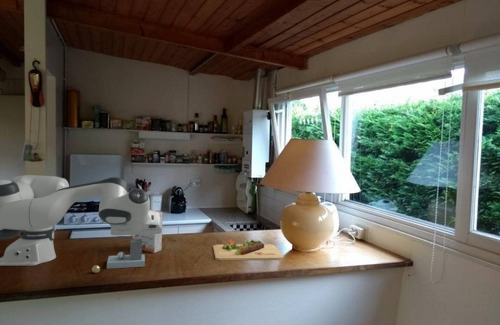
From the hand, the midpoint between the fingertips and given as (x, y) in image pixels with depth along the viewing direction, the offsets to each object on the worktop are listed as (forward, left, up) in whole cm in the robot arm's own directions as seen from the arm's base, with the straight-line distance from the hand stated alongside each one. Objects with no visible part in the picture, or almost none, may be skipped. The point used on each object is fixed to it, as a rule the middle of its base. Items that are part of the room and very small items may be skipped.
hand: (136, 237), depth 146 cm
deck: (-4, +13, -16) cm, 21 cm away
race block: (0, +13, -13) cm, 19 cm away
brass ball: (-16, +4, -14) cm, 22 cm away
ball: (-6, +13, -12) cm, 19 cm away
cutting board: (+57, +19, -17) cm, 62 cm away
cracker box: (+6, +33, -16) cm, 37 cm away
